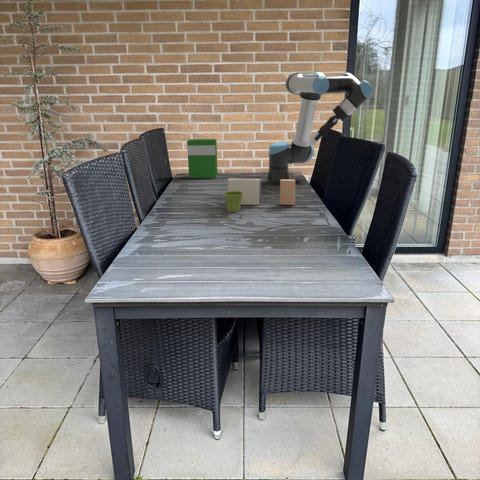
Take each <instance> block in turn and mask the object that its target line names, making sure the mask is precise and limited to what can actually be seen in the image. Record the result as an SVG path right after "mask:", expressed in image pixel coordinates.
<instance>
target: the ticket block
mask: <svg viewBox="0 0 480 480" xmlns="http://www.w3.org/2000/svg"><path fill="white" fill-rule="evenodd" d="M229 191H239V192H243V195H242V198H241V205H244V206H245V205H249V206H252V205H253V206H255V205H256V206H260V205H262V179H261V178H237V177H236V178H234V177H233V178H228V179H227V192H229Z"/></svg>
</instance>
